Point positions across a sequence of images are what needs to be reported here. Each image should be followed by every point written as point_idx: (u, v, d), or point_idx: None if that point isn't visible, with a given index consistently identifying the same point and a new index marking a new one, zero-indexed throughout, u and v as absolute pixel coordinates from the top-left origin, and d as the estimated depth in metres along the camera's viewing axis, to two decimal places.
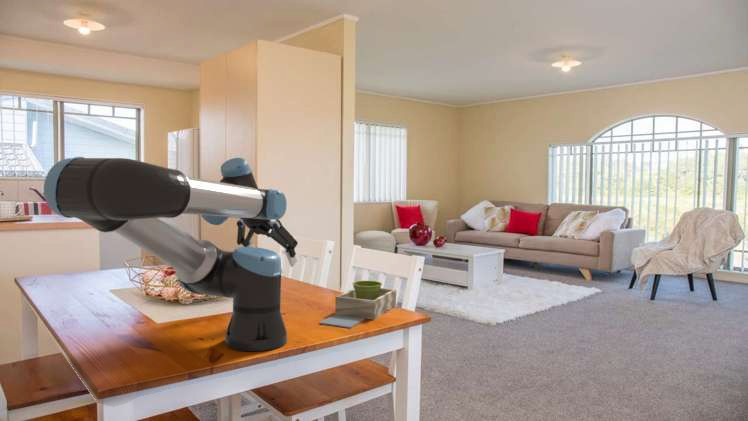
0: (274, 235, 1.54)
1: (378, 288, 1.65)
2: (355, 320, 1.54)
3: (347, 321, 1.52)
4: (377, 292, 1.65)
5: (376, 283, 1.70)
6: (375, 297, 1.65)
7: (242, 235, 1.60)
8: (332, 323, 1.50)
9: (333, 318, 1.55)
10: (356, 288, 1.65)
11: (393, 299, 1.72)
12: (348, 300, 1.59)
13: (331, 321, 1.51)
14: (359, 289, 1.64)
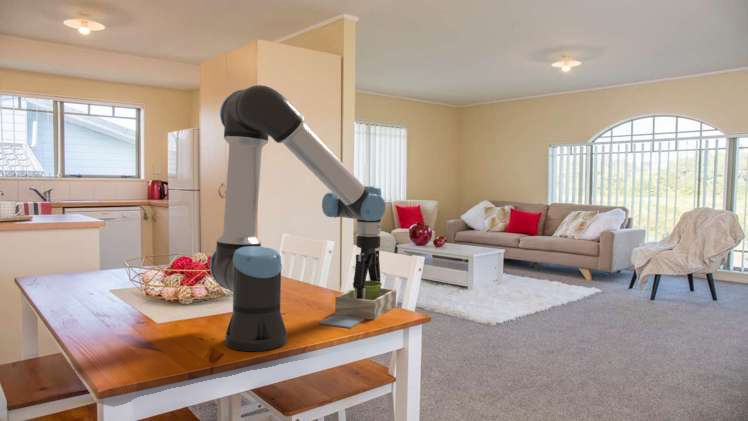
0: None
1: (378, 288, 1.65)
2: (355, 320, 1.54)
3: (347, 321, 1.52)
4: (377, 292, 1.65)
5: (376, 283, 1.70)
6: (375, 297, 1.65)
7: None
8: (332, 323, 1.50)
9: (333, 318, 1.55)
10: (356, 288, 1.65)
11: (393, 299, 1.72)
12: (348, 300, 1.59)
13: (331, 321, 1.51)
14: None
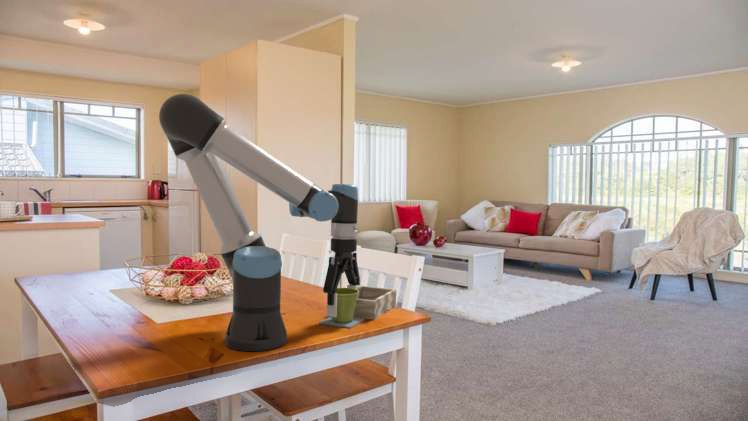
0: None
1: (354, 296, 1.50)
2: (355, 320, 1.54)
3: None
4: (353, 301, 1.51)
5: (353, 291, 1.56)
6: (351, 306, 1.50)
7: None
8: (332, 323, 1.50)
9: None
10: None
11: (393, 299, 1.72)
12: None
13: (331, 321, 1.51)
14: None
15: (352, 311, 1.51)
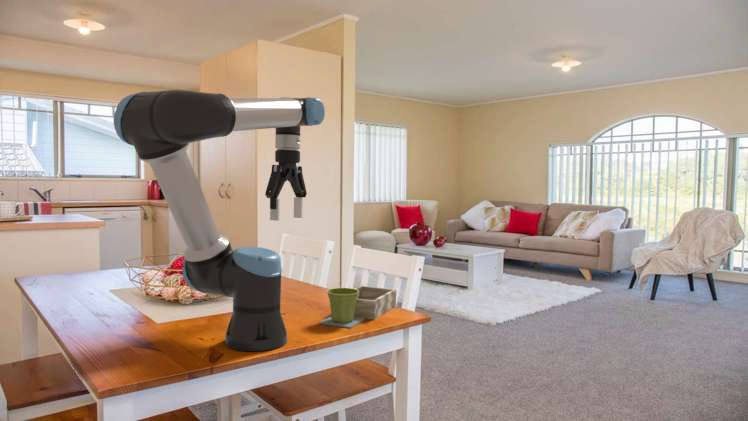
0: None
1: (354, 296, 1.50)
2: (355, 320, 1.54)
3: None
4: (353, 301, 1.51)
5: (353, 291, 1.56)
6: (351, 306, 1.50)
7: None
8: (332, 323, 1.50)
9: None
10: (330, 296, 1.50)
11: (393, 299, 1.72)
12: None
13: (331, 321, 1.51)
14: (333, 297, 1.49)
15: (352, 311, 1.51)
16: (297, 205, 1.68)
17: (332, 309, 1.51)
